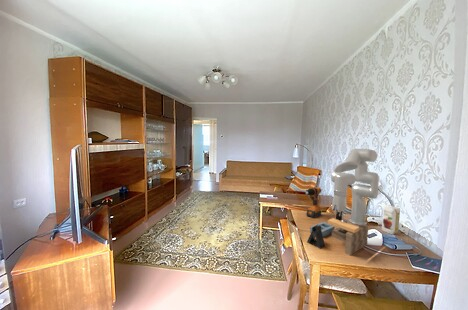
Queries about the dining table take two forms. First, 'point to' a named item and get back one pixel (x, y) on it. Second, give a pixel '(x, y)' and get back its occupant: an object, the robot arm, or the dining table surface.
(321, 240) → the black a-frame stand
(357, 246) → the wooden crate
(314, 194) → the power drill
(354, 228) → the bar
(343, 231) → the drill bit
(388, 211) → the juice carton
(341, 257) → the dining table surface
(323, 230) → the rack
